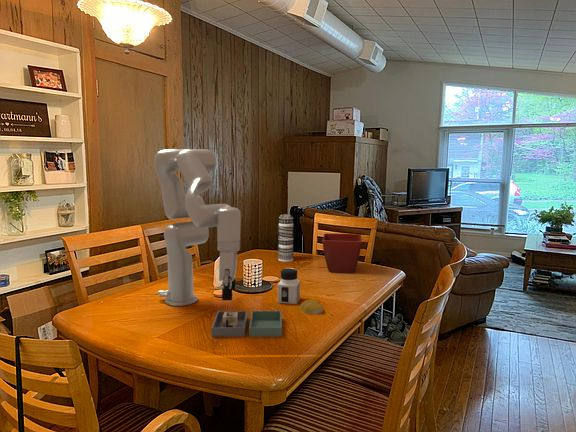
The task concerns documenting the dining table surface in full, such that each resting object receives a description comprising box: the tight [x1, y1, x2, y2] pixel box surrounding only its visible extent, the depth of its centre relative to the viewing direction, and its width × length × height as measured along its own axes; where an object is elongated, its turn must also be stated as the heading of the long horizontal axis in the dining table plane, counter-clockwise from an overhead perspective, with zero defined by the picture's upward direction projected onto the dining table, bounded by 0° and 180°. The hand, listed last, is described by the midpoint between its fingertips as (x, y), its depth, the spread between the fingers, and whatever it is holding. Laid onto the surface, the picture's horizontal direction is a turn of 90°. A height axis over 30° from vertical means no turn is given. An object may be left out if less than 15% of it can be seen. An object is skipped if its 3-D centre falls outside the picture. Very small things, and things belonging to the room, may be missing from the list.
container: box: [277, 267, 301, 305], centre depth 175 cm, size 8×8×13 cm
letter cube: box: [223, 312, 238, 327], centre depth 147 cm, size 4×5×5 cm
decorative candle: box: [277, 213, 295, 263], centre depth 239 cm, size 9×9×25 cm
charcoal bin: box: [210, 310, 249, 338], centre depth 147 cm, size 10×15×4 cm
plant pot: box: [321, 232, 363, 274], centre depth 221 cm, size 19×19×17 cm
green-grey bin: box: [248, 310, 283, 338], centre depth 147 cm, size 10×15×4 cm
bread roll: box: [299, 299, 324, 315], centre depth 164 cm, size 8×9×4 cm
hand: (228, 294), depth 146 cm, fingers open, 9 cm apart
